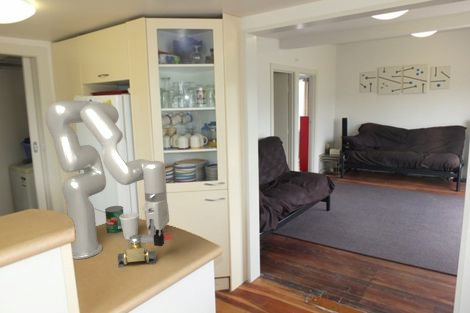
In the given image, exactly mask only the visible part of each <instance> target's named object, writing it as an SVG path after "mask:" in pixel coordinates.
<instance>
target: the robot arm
mask: <svg viewBox="0 0 470 313" xmlns="http://www.w3.org/2000/svg"><path fill="white" fill-rule="evenodd" d="M44 117H45V118H44V121H45V125H46V127H47V129H48V131H49V134H50V135H51V138H52V141H53V144H54V148H55V152H56V156H57V160H58V163H59V166H60V168H61V170H62V171H63V172H66V173H74V172H80V171H83V172H82V173H79V174H75V175H71V176H70V177H68V178H67V179H65V180H64V181H63V183H62V185H61V192H62V195H63V198H64V200H65V205H66V211H67V217H68V216H69V217H71V218H72V219H73V221H74V224H75V230H76V241H75V242H74V243H72V252H73V258H72V259H75V260H80V259H89V258H91V257H94V256H96V255H98V254H100V253H101V252H102V250H103V245H102V244H101V243H98V234H97V225H96V213H95V207H94V204H93V203H92V201H91V200H90V197H92V196H93V195H96V194H99V193H102V192H103V191H104V190H105V189H106V187H107V179H106V175H105V174H106V173H105V169H106V170H107V171H108V173H109V174H110V176H111V177H112V178H113V179H114V181H116V182H117V183H118V184H119V185H123V186H124V185H125V186H129V185H132V184H134V183H137V182H140V181H143V187H144V202H145V203H147V206H146V217H145V221H146V220H147V223H146V229H147V228H148V229H147V231H148V230H151V231H150V234H151V235H153V237H154V241H153V246H154V247H163V246H164V244H165V241H164V234H163V233H165V227H166V226H167V225H168V224H169V223H170V213H169V204H168V198H167V197H168V196H167V195H168V194H167V193H168V192H167V180H166V179H167V178H166V176H167V175H166V165H165V163H164V162H163V161H160V160H152V161H151V160H147V159H143V158H138V159H134V160H130V161H124V159H123V158H122V156H121V155H120V153H119V152H118V146H117V145H118V144H119V143H120V142H121V141H122V139H123V137H124V135H123V132H122V131H121V130H120V128H119V127H118V126H117V124H116V123H117V122H118V121H119V118H120V116H119V111H118V110H117V108H116V106H115V105H113V104H111V103H107V102H99V101H91V100H58V101H55V102H53V103H51V104H50V105H49V106H47V108H46V111H45V116H44ZM78 123H84V125H85V126H86V128H87V129H88V130H89V131H90V133H91V134H92V136H93V137H94V138H95V139H96V141H97V142H98V143H99V144H100V146H101V148H102V149H101V155H100V153H99V151H98V150H97V149H96V148H95V147H94V146H92V145H89V144H88V145H87V144H85V145H84V144H83V145H80V141H79V137H78V135H77V133H76V131H75V130H74V129H73V128H72V126H71V125H70V124H78ZM101 157H102V158H101ZM103 165H104V166H103ZM104 167H105V169H104Z"/></svg>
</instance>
